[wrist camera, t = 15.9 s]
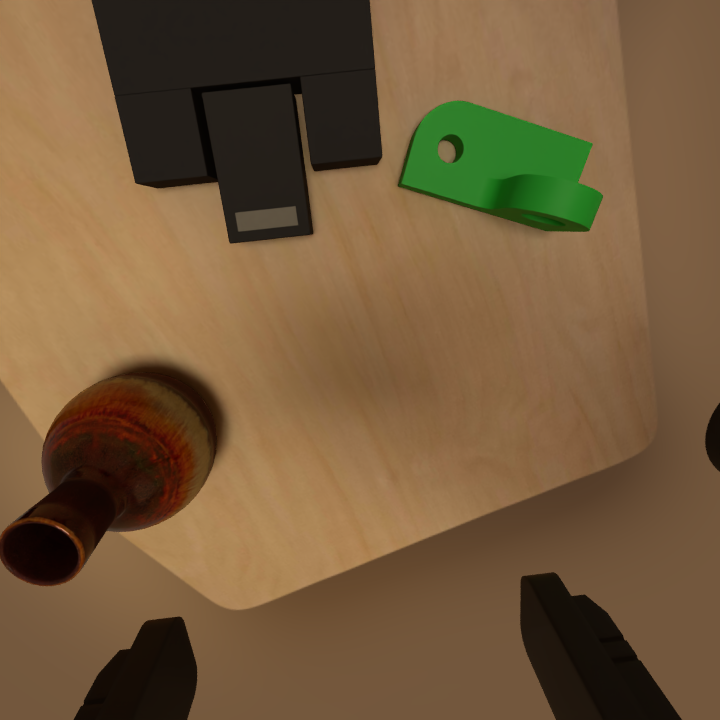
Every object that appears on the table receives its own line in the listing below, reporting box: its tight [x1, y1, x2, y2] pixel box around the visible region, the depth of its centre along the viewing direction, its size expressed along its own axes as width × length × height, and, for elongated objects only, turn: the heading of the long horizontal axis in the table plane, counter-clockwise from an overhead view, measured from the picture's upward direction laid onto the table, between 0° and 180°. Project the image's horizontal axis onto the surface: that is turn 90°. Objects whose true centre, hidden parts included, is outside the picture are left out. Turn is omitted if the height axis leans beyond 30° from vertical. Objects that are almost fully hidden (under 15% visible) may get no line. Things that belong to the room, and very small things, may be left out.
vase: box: [0, 372, 217, 586], centre depth 29 cm, size 11×11×15 cm
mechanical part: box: [398, 101, 603, 232], centre depth 28 cm, size 12×6×8 cm, turn 75°
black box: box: [202, 84, 313, 243], centre depth 30 cm, size 6×9×4 cm, turn 6°
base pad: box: [92, 0, 382, 188], centre depth 28 cm, size 16×14×4 cm
